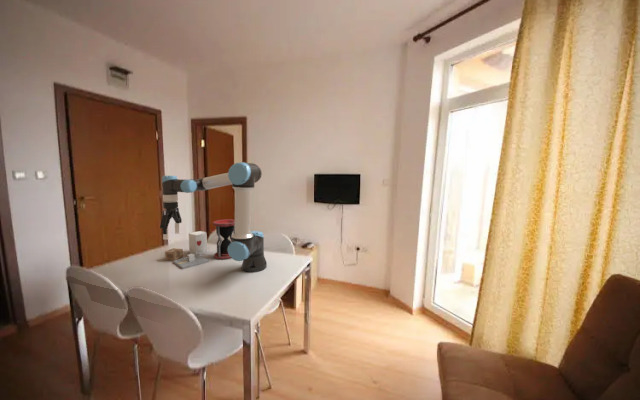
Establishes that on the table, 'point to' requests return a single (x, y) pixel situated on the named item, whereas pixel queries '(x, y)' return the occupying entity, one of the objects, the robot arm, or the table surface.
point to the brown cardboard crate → (174, 254)
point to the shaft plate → (190, 261)
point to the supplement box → (197, 242)
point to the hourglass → (225, 231)
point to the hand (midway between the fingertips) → (172, 236)
